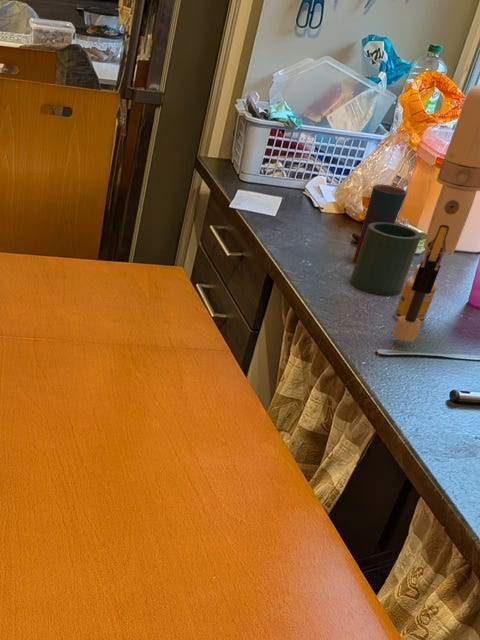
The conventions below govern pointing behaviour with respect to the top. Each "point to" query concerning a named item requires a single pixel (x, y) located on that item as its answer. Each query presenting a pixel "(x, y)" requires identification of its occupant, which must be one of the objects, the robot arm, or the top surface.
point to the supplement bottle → (408, 296)
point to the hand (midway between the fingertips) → (421, 288)
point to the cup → (382, 208)
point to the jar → (385, 258)
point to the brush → (410, 319)
